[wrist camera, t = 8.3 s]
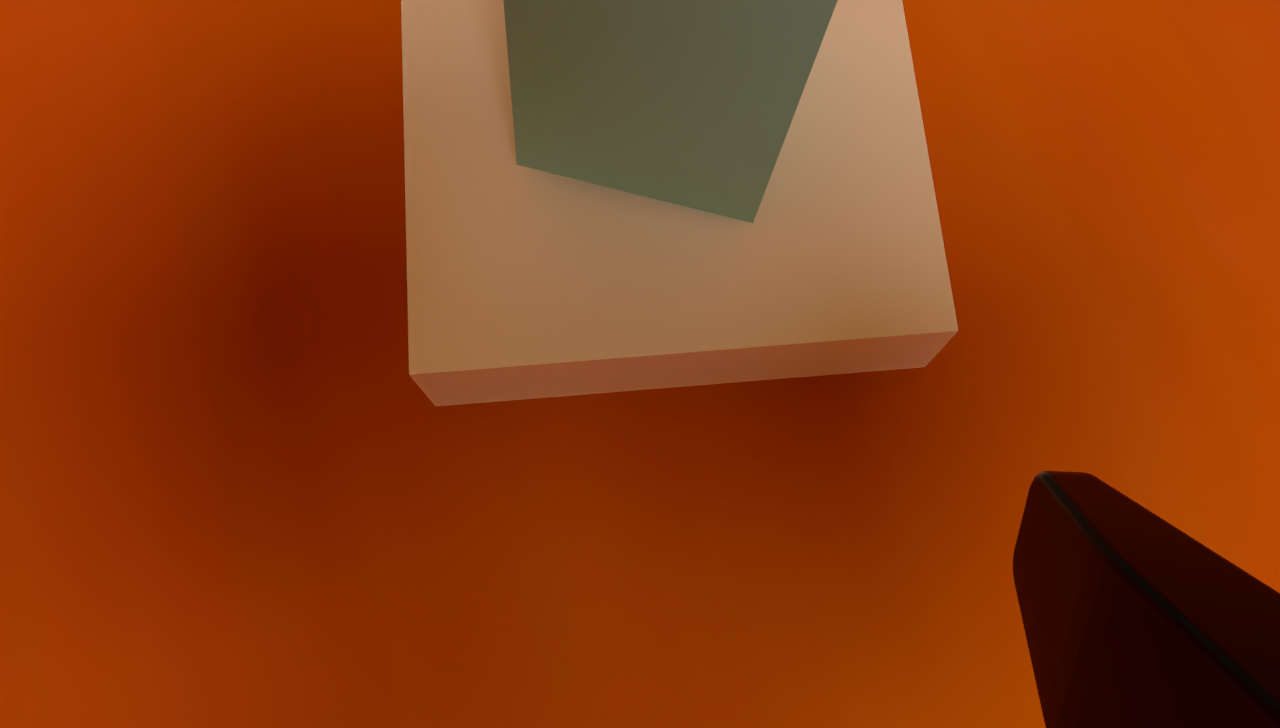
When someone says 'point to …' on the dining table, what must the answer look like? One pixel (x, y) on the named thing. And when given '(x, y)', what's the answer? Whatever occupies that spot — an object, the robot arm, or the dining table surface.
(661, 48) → the tall block
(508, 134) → the base plate
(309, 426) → the dining table surface
